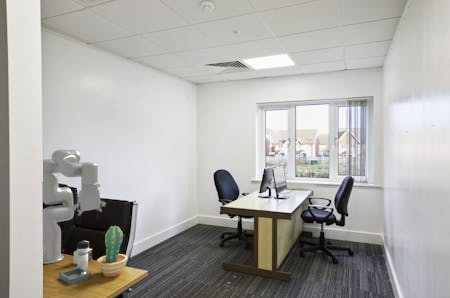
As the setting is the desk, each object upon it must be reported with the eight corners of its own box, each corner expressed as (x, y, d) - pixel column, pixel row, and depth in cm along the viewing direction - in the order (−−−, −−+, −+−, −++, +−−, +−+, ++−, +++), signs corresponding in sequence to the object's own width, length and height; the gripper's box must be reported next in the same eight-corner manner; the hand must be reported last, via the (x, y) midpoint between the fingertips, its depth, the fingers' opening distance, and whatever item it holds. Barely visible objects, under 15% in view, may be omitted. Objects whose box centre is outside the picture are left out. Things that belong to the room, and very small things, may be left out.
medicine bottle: (84, 265, 165) (84, 244, 165) (73, 264, 166) (73, 243, 166) (92, 260, 172) (92, 240, 172) (81, 259, 173) (82, 239, 173)
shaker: (75, 269, 158) (75, 251, 159) (85, 266, 163) (85, 249, 163) (80, 272, 155) (80, 253, 155) (89, 269, 159) (89, 251, 159)
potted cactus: (133, 270, 158) (134, 224, 158) (114, 282, 143) (114, 232, 144) (110, 266, 163) (111, 222, 163) (89, 277, 149) (90, 228, 149)
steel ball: (79, 278, 147) (79, 271, 147) (85, 276, 149) (85, 269, 149) (82, 280, 145) (82, 273, 145) (88, 277, 147) (88, 271, 147)
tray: (59, 279, 147) (59, 273, 147) (79, 272, 155) (79, 267, 155) (70, 286, 139) (70, 279, 139) (91, 278, 147) (91, 273, 147)
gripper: (101, 185, 156) (101, 217, 156) (68, 188, 142) (67, 223, 142) (109, 186, 151) (109, 219, 151) (75, 189, 138) (74, 225, 137)
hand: (89, 221), depth 146 cm, fingers open, 9 cm apart
